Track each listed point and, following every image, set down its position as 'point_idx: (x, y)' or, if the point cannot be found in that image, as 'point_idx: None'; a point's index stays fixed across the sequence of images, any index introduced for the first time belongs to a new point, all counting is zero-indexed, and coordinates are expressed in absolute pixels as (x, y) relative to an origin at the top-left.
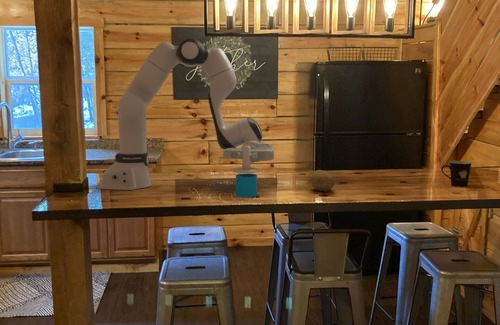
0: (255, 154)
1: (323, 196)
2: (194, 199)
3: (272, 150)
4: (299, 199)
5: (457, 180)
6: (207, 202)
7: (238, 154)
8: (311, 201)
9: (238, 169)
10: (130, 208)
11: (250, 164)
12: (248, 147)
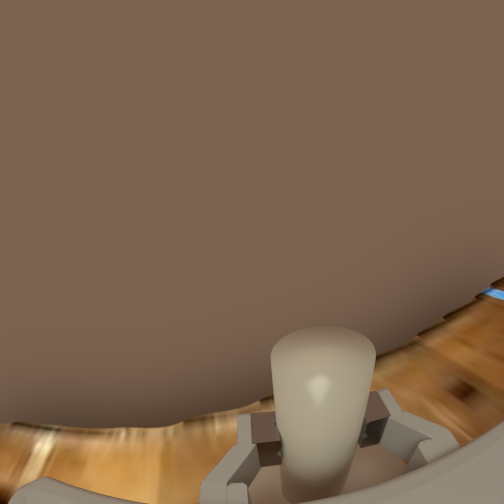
0: (227, 460)
1: (8, 491)
2: (439, 397)
3: (24, 486)
4: (83, 474)
5: None
6: None
7: (385, 388)
8: (60, 448)
9: (363, 460)
10: (463, 307)
11: (280, 475)
12: (285, 343)
